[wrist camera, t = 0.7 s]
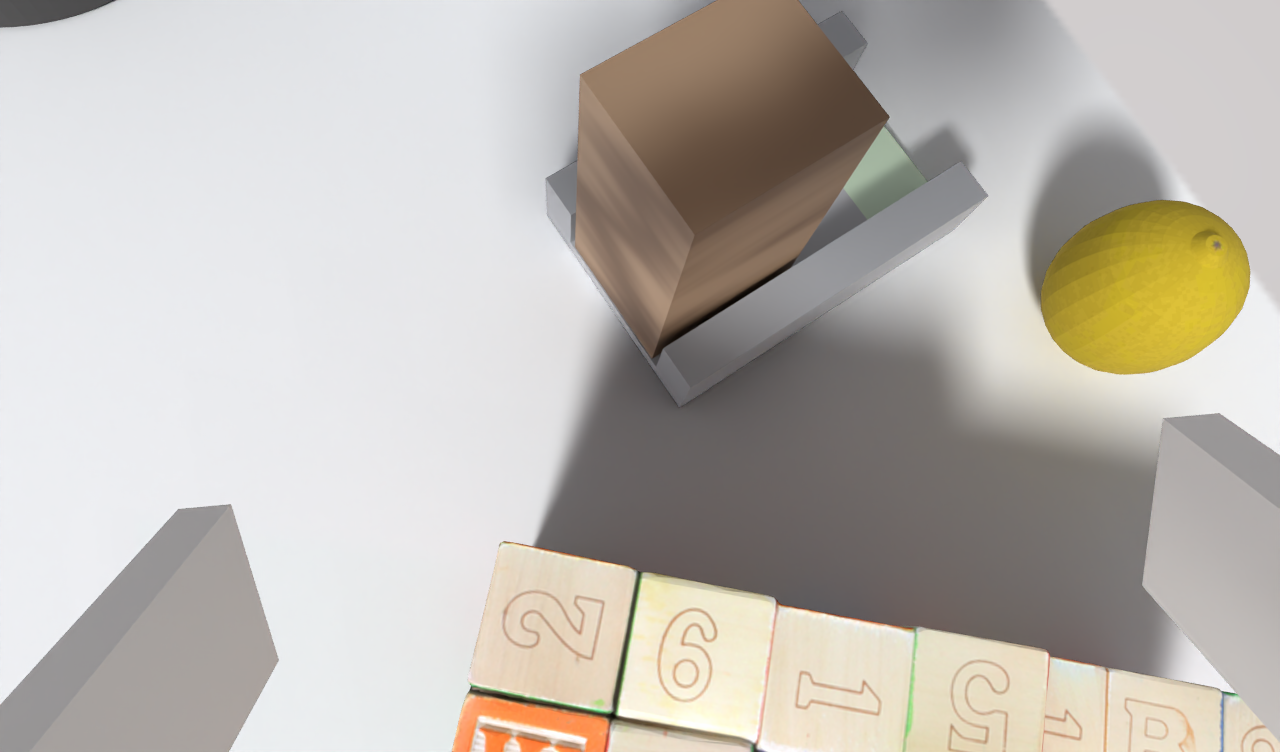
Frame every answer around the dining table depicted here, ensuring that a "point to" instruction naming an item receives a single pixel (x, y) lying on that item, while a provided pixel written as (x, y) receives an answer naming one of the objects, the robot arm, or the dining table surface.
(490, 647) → the stack of blocks
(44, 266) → the dining table surface
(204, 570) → the robot arm
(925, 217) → the chute
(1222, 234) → the lemon
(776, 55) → the block
